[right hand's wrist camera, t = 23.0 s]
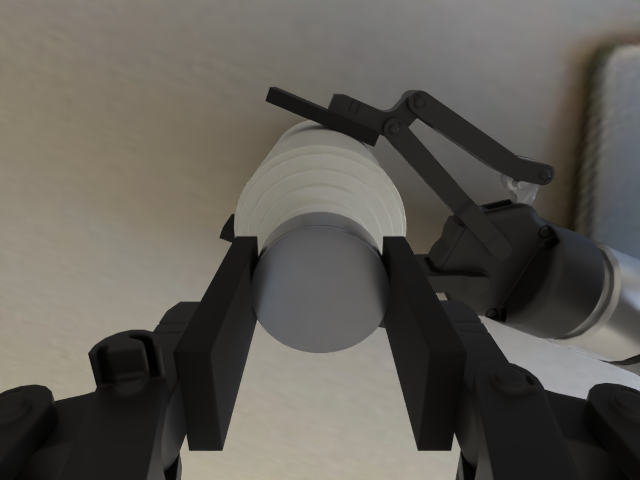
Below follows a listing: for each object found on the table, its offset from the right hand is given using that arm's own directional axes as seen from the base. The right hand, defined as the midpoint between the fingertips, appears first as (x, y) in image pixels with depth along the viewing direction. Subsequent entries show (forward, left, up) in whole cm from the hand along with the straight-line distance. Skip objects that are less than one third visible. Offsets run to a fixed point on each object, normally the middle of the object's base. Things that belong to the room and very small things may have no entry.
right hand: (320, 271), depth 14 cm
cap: (0, 0, +2) cm, 2 cm away
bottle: (0, 0, -17) cm, 17 cm away
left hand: (-5, -1, -11) cm, 12 cm away
